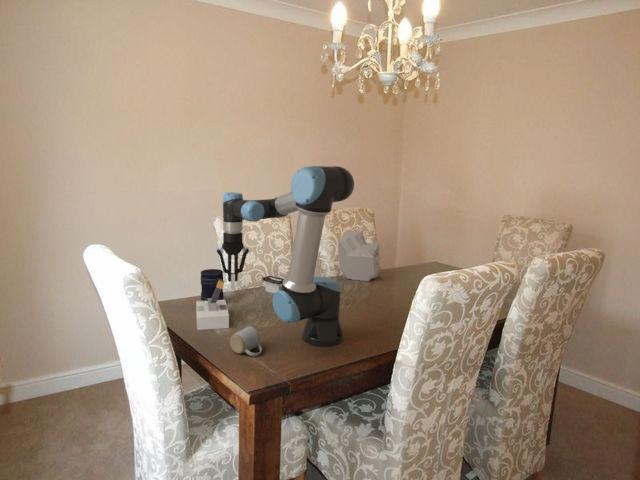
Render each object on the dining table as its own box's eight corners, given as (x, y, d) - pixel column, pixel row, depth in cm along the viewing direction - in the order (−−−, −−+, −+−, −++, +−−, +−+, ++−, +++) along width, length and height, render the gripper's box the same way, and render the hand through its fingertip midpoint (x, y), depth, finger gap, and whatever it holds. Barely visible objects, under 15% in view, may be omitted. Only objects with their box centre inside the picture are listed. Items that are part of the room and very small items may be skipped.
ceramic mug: (228, 351, 159) (228, 330, 158) (244, 344, 166) (244, 323, 165) (251, 360, 154) (251, 338, 152) (267, 352, 160) (267, 331, 159)
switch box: (228, 327, 181) (228, 308, 179) (197, 330, 177) (196, 310, 176) (225, 310, 199) (225, 293, 198) (196, 312, 196) (196, 294, 195)
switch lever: (214, 309, 186) (224, 283, 185) (209, 308, 185) (219, 281, 184) (213, 306, 190) (223, 280, 189) (208, 304, 189) (218, 278, 188)
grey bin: (281, 302, 214) (281, 282, 212) (241, 292, 228) (241, 273, 226) (306, 293, 230) (306, 274, 228) (267, 284, 244) (267, 265, 242)
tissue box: (382, 271, 265) (381, 232, 253) (376, 287, 252) (375, 247, 240) (347, 267, 272) (345, 230, 259) (340, 283, 258) (337, 244, 246)
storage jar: (228, 303, 209) (228, 271, 206) (212, 309, 201) (211, 275, 198) (212, 299, 214) (212, 267, 212) (196, 304, 206) (195, 272, 204)
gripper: (248, 230, 189) (248, 285, 194) (215, 230, 186) (216, 287, 190) (250, 233, 182) (250, 291, 187) (216, 233, 179) (216, 292, 183)
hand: (232, 289), depth 188 cm, fingers closed
